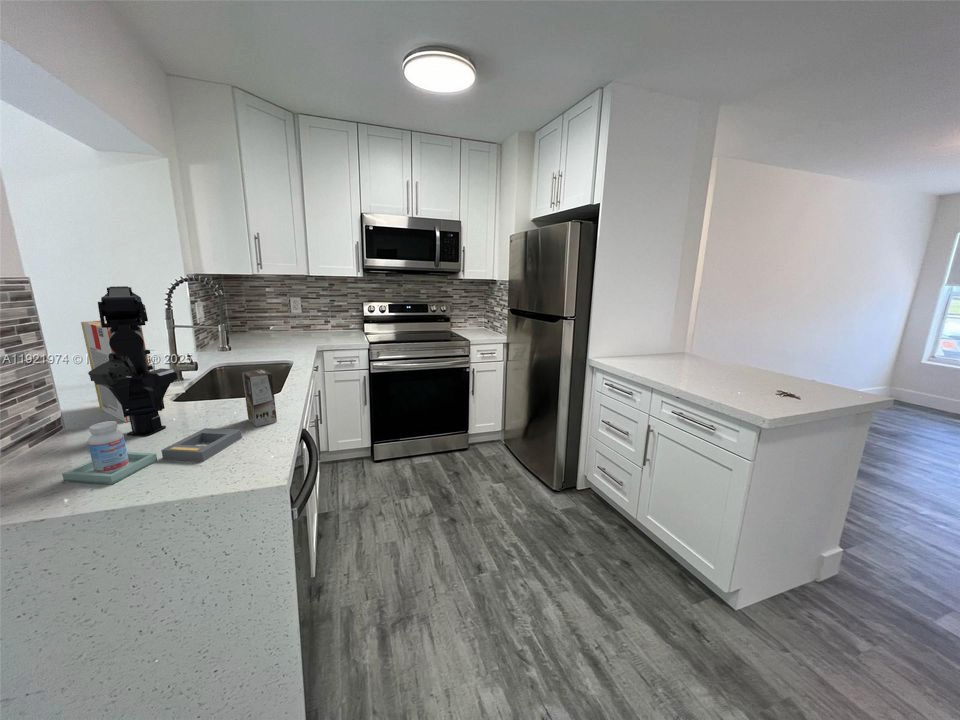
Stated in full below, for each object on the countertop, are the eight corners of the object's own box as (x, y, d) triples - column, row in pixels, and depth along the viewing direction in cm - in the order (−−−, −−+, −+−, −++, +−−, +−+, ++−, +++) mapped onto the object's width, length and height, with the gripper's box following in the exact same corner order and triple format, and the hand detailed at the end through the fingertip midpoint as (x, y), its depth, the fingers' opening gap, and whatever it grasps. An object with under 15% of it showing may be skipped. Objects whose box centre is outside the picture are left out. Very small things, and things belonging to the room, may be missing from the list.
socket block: (163, 459, 96) (161, 449, 95) (206, 436, 110) (204, 427, 109) (203, 461, 95) (201, 451, 95) (242, 438, 109) (240, 429, 108)
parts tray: (64, 481, 85) (61, 473, 85) (113, 458, 96) (112, 451, 96) (112, 484, 84) (111, 476, 84) (157, 460, 95) (156, 453, 95)
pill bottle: (108, 476, 87) (97, 431, 84) (87, 473, 88) (76, 428, 85) (136, 464, 92) (127, 421, 90) (116, 461, 94) (107, 418, 91)
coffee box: (278, 422, 121) (272, 373, 117) (255, 427, 116) (249, 377, 113) (269, 414, 127) (263, 368, 123) (247, 419, 123) (241, 371, 119)
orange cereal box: (158, 414, 125) (141, 325, 118) (126, 422, 118) (106, 327, 112) (130, 402, 136) (113, 319, 130) (100, 408, 130) (80, 322, 123)
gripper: (56, 352, 86) (72, 416, 90) (129, 357, 84) (142, 422, 88) (108, 343, 97) (120, 400, 101) (174, 347, 95) (184, 405, 99)
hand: (140, 407), depth 97 cm, fingers open, 9 cm apart
